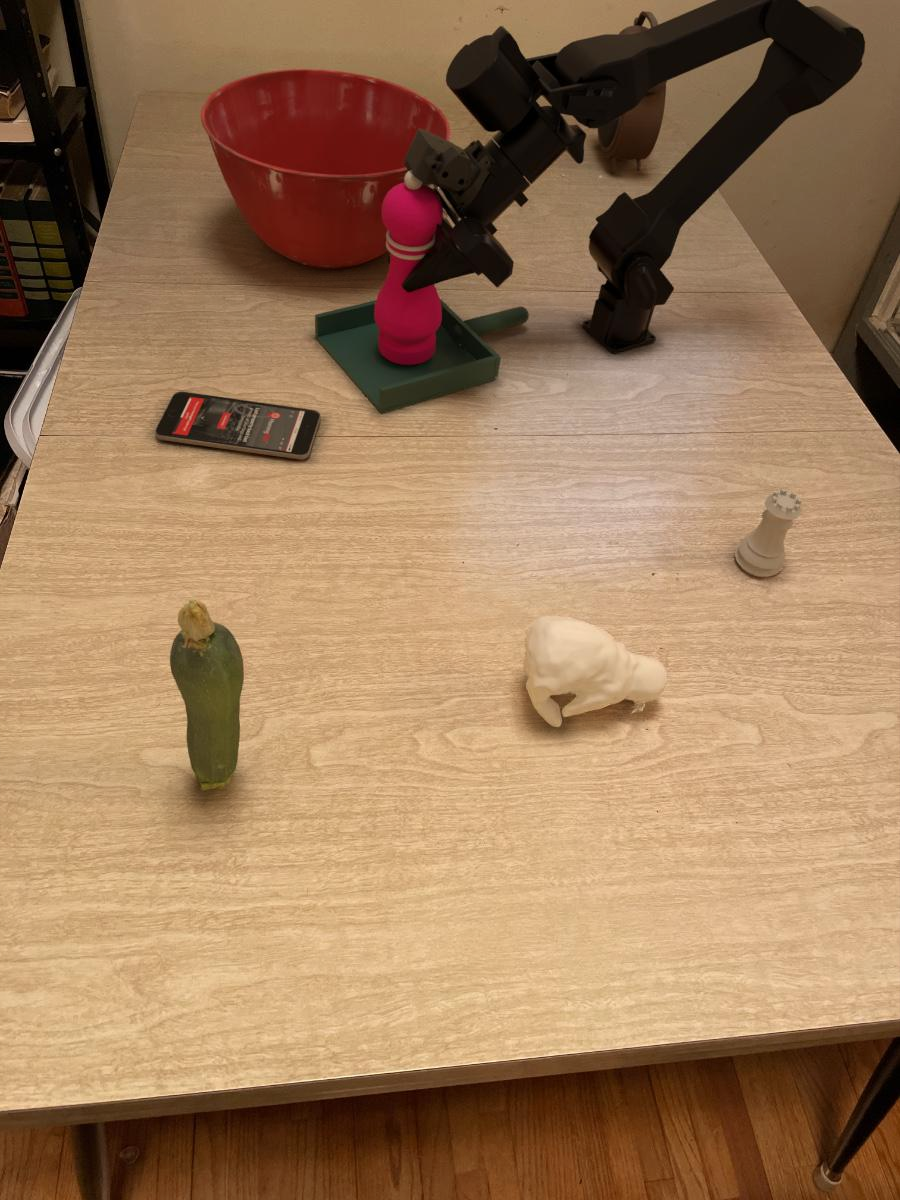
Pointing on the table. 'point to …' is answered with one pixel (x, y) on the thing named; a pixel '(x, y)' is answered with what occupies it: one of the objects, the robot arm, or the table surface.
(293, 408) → the smartphone
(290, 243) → the mixing bowl
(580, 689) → the cream lumpy piece
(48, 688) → the table surface
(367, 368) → the scoop
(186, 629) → the vegetable
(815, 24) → the robot arm
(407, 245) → the pepper mill
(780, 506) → the rook chess piece
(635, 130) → the alarm clock
